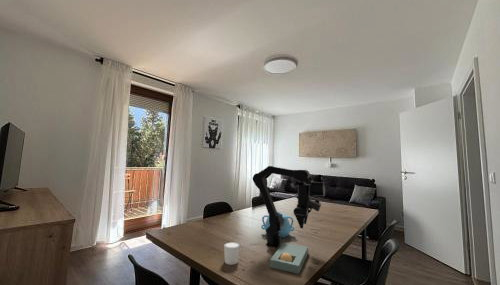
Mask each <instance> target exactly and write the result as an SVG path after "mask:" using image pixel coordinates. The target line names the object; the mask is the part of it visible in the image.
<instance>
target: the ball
mask: <svg viewBox="0 0 500 285" xmlns="http://www.w3.org/2000/svg"><path fill="white" fill-rule="evenodd" d="M280 260H284V261H288V262H292V257H291V255H290V254H288V253H283V254H282V255H281V257H280Z"/></svg>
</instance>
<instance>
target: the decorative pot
mask: <svg viewBox="0 0 500 285" xmlns="http://www.w3.org/2000/svg"><path fill="white" fill-rule="evenodd" d="M277 212H278V214H279V215H280V214H282V216H283V219H284V220H285V221H284V227H283V228H282V229H281V231H279V232H280V236H281V238H286V237H287V236H289V234H290V233H291V232H293V231H295V227H294V226H293V225H294V218H293V217H292V216H287V214H285V213H281V212H280V211H277ZM265 218H267V219H266V220H265ZM289 219H291V222H290V221H289ZM261 221H262V223H263V224H262V225H261V227H260V228H261V229H262V230H264V231H265V232H266V229H267V228H268V227H269V226H270V224H269V214H266V215H263V216H262V219H261Z"/></svg>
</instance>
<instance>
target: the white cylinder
mask: <svg viewBox="0 0 500 285" xmlns="http://www.w3.org/2000/svg"><path fill="white" fill-rule="evenodd" d="M240 246H241V245H240V243H238V242H235V241H234V242H233V241H231V242H226V243H224V244H223V249H224V254H223V255H224V262H225V264H226V265H231V266H232V265H236V264H238V263H239V256H240V248H241V247H240Z"/></svg>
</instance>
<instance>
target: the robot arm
mask: <svg viewBox="0 0 500 285" xmlns="http://www.w3.org/2000/svg"><path fill="white" fill-rule="evenodd" d="M272 174H275V175H280V176H284V177H285V176H286V177H290V178H292V179H294V180H296V181H295V182H294V183H293V186H297V196H296V199H297V204H296V207H295V208H294V209H293V215H294V216H295V218H296V221H297V223H298V225H299V228H300V229H303V228H304V225H306V224H307V222H308V217H309V213H311V212H312V210H315V212H319V211H320V209H321V207H322V203H320V200H319V199H316V200H314V199H311V196H310V194H311V195H312V196H315V197H325V195H326V188H325V182H324V181H319V182H318V181H314V180H313V178H312V177H311V173H310V171H308V170H307V169H288V168H283V167H277V166H273V165H268V166H266V168H264V169H262V170H261V171H259V172H257V173H254V175H253V176H252V181H253V183H254V185H255V187H257V188H258V190H259V193H260V194H261V197H262V200H263V203H264V206H265V208H266V211H267V213H268V214H267V215H268V216H269V224H270V226H269V227H268V228H267V229H266V231H265V232H266V235H267V236H266V243H265V246H268V247H275V248H279V247H280V245H282V237H281V236H280V232H279V231H281V229H282V228H283V227H284V221H285V220H284V219H283V216H282V214H283V213H280V215H279V214H278V212H279V211H278V210H277V209H276V206H275V203H274V201H273V198H272V195H271V193H270V190H269V187H268V178H269V177H270V176H271V175H272Z"/></svg>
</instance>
